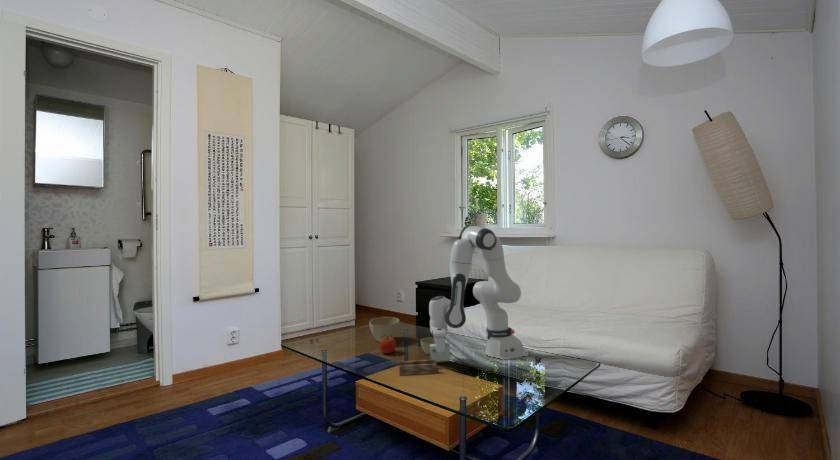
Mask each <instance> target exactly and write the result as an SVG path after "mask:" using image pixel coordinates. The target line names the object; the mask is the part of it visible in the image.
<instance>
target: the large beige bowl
mask: <svg viewBox="0 0 840 460" xmlns="http://www.w3.org/2000/svg"><path fill="white" fill-rule="evenodd" d="M368 322H369V329H370V332H371V334H372V335H373V337H374V339H375V340H376V341H377V342H378V343H379V342H380V340H381V339H382V338H386V336H389V337H392V338H394V339H395V338H396V336H397V333H398V331H399V327H400V319H399V318H397V317H394V316H393V317H392V316H382V317H381V316H380V317H377V318H376V317H375V318H373V319H370V320H369V321H368ZM383 335H385V337H382V336H383ZM381 337H382V338H381Z"/></svg>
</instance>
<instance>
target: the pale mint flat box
mask: <svg viewBox="0 0 840 460" xmlns="http://www.w3.org/2000/svg"><path fill="white" fill-rule="evenodd" d="M429 356H430V360H433V359H435V362H447V361H448V362H449V361H451V346H450V343H449V342H447V343H446V342H445V350H444V352H442V356H439V353H438V352H437V349H436V344H430V355H429Z"/></svg>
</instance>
